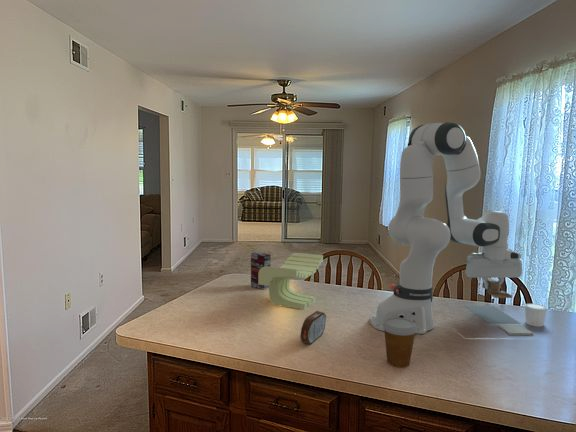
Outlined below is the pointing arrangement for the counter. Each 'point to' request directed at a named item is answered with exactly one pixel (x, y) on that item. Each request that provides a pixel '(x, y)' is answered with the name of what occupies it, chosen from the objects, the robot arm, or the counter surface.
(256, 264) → the supplement box
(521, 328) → the tile
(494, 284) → the tan stepped block
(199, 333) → the counter surface
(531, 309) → the white cup
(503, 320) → the tool rest mat
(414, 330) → the disposable coffee cup
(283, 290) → the slatted curved stool
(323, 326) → the tin
